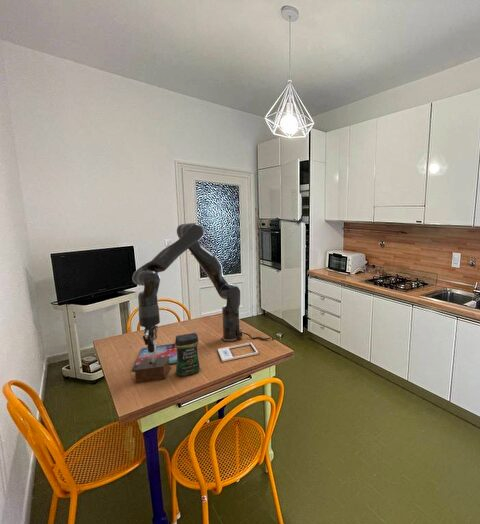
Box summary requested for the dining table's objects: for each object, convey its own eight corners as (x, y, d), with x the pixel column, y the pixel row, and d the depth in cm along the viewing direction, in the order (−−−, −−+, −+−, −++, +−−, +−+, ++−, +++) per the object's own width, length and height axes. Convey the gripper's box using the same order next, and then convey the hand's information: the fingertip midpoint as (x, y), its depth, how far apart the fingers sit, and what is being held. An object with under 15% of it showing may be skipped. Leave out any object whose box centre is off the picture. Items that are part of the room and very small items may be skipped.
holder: (169, 367, 141) (168, 355, 140) (164, 378, 131) (163, 366, 130) (143, 370, 137) (142, 358, 136) (135, 382, 127) (134, 369, 126)
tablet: (133, 371, 136) (132, 369, 136) (141, 349, 158) (141, 348, 158) (180, 362, 145) (180, 361, 145) (182, 343, 167) (182, 342, 167)
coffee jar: (177, 379, 131) (175, 339, 128) (175, 371, 137) (173, 333, 135) (201, 372, 137) (199, 335, 134) (198, 365, 143) (196, 329, 141)
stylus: (156, 368, 135) (156, 339, 133) (155, 370, 133) (155, 340, 132) (152, 368, 134) (152, 339, 132) (151, 370, 133) (151, 340, 131)
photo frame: (217, 348, 159) (251, 342, 169) (217, 350, 160) (251, 344, 169) (222, 359, 147) (258, 352, 157) (222, 361, 147) (258, 354, 157)
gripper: (154, 318, 125) (157, 356, 127) (162, 308, 137) (165, 343, 140) (133, 320, 122) (137, 358, 125) (144, 310, 135) (147, 345, 137)
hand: (152, 350), depth 132 cm, fingers closed on stylus, 1 cm apart
